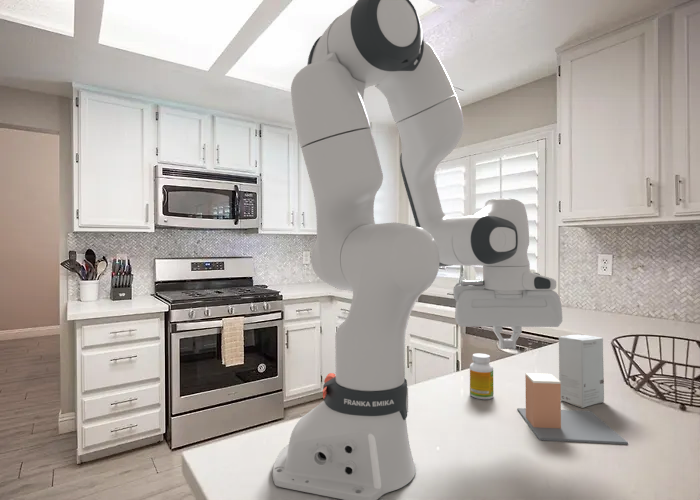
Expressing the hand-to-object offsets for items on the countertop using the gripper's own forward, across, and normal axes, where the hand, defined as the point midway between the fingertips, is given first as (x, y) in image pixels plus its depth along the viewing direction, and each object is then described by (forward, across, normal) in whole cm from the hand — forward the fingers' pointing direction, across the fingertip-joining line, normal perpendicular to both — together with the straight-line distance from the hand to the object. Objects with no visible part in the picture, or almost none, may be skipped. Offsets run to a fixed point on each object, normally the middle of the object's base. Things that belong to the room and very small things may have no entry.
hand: (507, 348), depth 82 cm
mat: (+15, +11, 0) cm, 19 cm away
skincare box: (+16, +20, +14) cm, 28 cm away
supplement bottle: (+15, -2, +15) cm, 21 cm away
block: (+15, +6, 0) cm, 16 cm away
